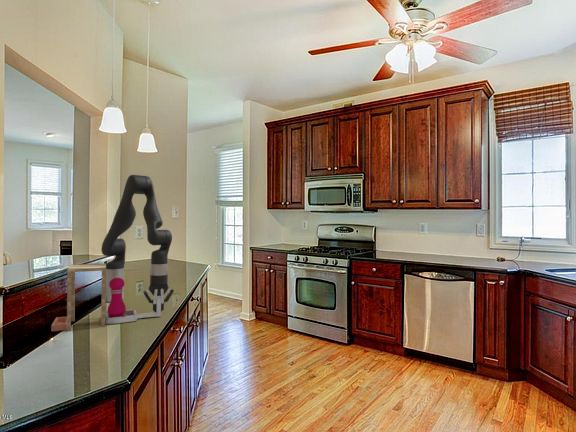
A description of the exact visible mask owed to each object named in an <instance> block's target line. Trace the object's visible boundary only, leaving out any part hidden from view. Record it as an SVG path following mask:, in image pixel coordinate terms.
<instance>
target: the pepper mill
mask: <svg viewBox="0 0 576 432" xmlns="http://www.w3.org/2000/svg"><path fill="white" fill-rule="evenodd" d="M109 287H110V288H111V290H110V291H111V292H110V293H111V295H112V297H111V302H109V304H108V307H107V309H106V312H107V313H108V314H109V315H110V317H109V318H111V317H120V316H124V315H123V314H124V313H125V311H126V310H127V309H126V305H125V302H124V300H123V299H122V292H123V289H122V288H123V287H124V288H125V279H124V280H123V279H121V278H119V275H118V274H116V275H115V278H114V279H112V280H111V281H110V282H109Z"/></svg>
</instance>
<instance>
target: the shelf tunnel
mask: <svg viewBox="0 0 576 432" xmlns="http://www.w3.org/2000/svg"><path fill="white" fill-rule="evenodd" d="M106 263H107V262H106ZM106 263H105V262H103V263H102V262H101V263H85V264H84V263H83V264H81V263H80V264H71V265H70V266H69V267H68V268H67V280H66V281H67V284H66V287H67V288H66V289H67V290H66V291H67V292H66V294H67V295H66V297H67V299H66V300H67V301H66V306H67V307H66V317H67V329H66V331H67V332H68V331H71V330H72V327H71V326H72V322H75V321H76V318H75V315H76V314H75V313H76V312H75V311H76V310H75V309H76V308H75V307H76V301H75V300H76V298H75V297H76V277H75V276H76V273H81V272H84V273H85V272H99V271H100V272H101V307H100V308H101V309H100V310H101V311H100V312H101V317H100V319H101V320H100V321H101V322H100V323H101V324H100V325H101V328H104V327H105V325H106V312H107V307H106V306H107V305H106V304H107V302H106Z"/></svg>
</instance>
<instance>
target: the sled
mask: <svg viewBox="0 0 576 432" xmlns="http://www.w3.org/2000/svg"><path fill="white" fill-rule="evenodd" d="M123 315H124V316H120V317H111V318H109V317H110V315H109V314H108V313H107V311H106V318H105V325H113V324H121V323H123V324H124V323H129V322H138V319H143V318H144V319H146V318H153V317H154V318H155V317H157V318H158V317H161V316H162V312H161V298H160V296H157V299H156V312H154V311H151V312H145V313H138V312H137V309H126V311H125V313H124V314H123Z"/></svg>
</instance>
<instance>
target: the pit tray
mask: <svg viewBox="0 0 576 432" xmlns="http://www.w3.org/2000/svg"><path fill="white" fill-rule="evenodd" d="M50 326H51V327H50V328H51V332H59V331H67V316H59V317H58V316H57V317H55V319H54V320H53V322H52V324H51V325H50Z"/></svg>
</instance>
